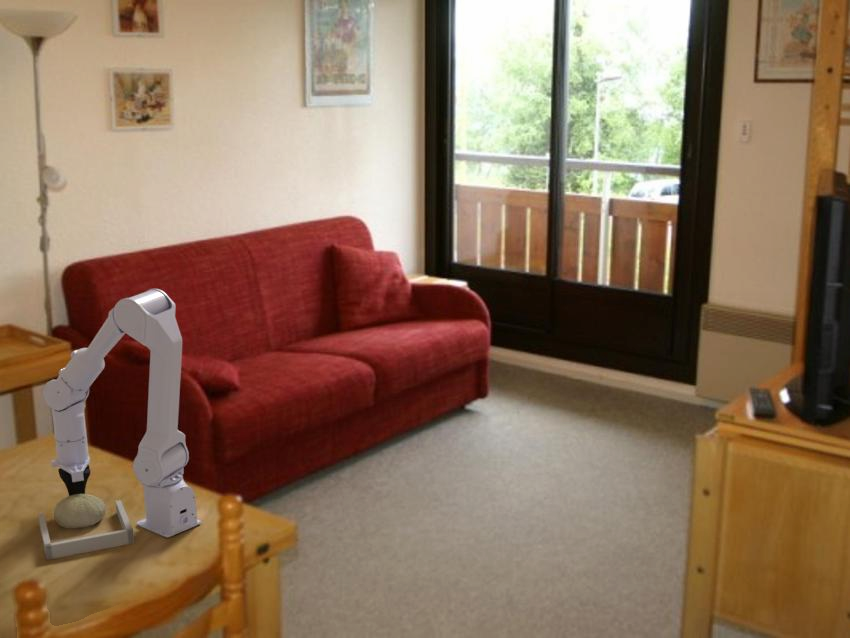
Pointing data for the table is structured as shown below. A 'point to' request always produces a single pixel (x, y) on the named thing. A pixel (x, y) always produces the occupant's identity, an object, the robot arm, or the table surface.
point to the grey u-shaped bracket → (88, 538)
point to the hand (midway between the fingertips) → (77, 503)
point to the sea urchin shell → (79, 511)
